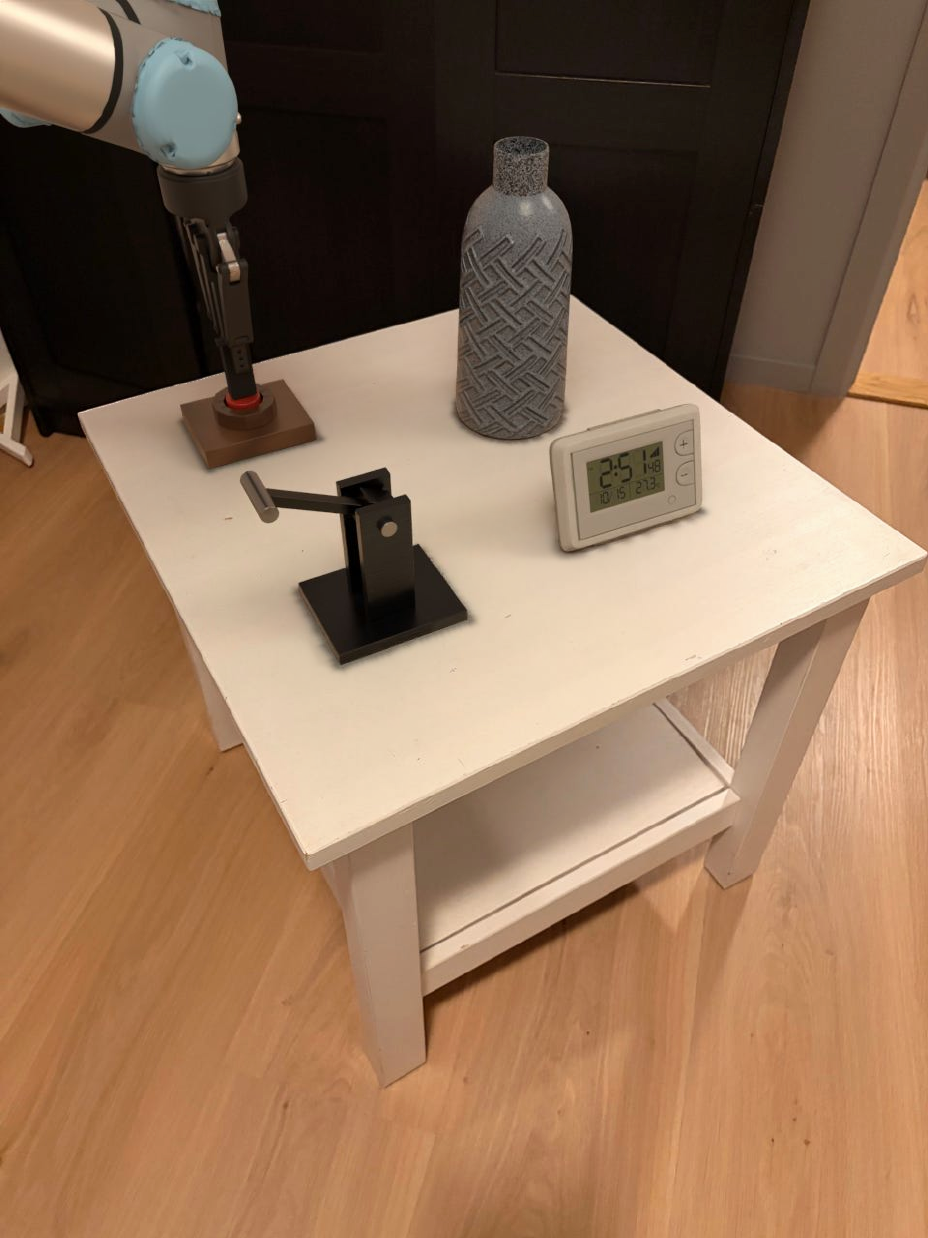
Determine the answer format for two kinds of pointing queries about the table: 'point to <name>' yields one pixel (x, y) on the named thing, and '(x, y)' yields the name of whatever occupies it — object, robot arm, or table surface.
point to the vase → (514, 298)
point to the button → (243, 402)
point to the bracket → (379, 579)
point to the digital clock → (626, 476)
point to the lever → (304, 499)
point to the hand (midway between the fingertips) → (243, 392)
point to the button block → (247, 425)
